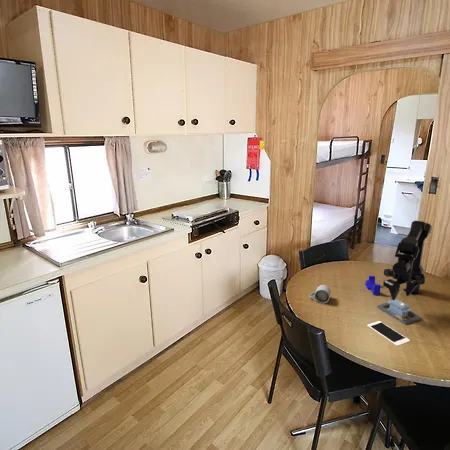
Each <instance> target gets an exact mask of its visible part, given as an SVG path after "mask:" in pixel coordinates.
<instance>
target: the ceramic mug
mask: <svg viewBox="0 0 450 450" xmlns="http://www.w3.org/2000/svg"><path fill="white" fill-rule="evenodd" d="M308 296H309V299H310V300H315V301H316V302H317V303H319V304H326V303H328V302H329V300H330V298H331V289H330V286H328V285H326V284H320V285H319V286H318V287H317V288H316V290H315V291H312V292H311V293H310V294H309V295H308Z"/></svg>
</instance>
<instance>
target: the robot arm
mask: <svg viewBox="0 0 450 450" xmlns="http://www.w3.org/2000/svg"><path fill="white" fill-rule="evenodd" d="M432 226H433V225H432V224H430V223H428V222H425V221H422V220H413V221H411V225H410V228H409V229H410V230H409V232H408V234H407V236H406V237H403V238H402V239H401V240H400V242H399V243H398V244H397V247H396V251H395V255H394V257H395V258H397V260H396V262H394V264H393V266H392V268H384V269H383V276H386V277H387V278H389V279H386V280H384V281H383V283H382V285H383V287H385V288H386V289H388V291H389V293H390V296H391V300H395V299H397V296H398V294H399V292H400V291H401V290H400V288H401V285H405V284H406V286H405V288H403V291H405V296H406V297H409V296H411V295H413V296H415V295H419V294H422V293H423V291H421V290H420V288H421V286H422V285H425V284H426V275H425V273H424V272H425V271H424V270H425V269H424V268H423V265H422V259H423V253H424V247H425V240H426V239H427V238H428V237H429V236H430V234H431V233H432V229H433V227H432ZM393 279H394V280H393Z"/></svg>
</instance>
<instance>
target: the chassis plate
mask: <svg viewBox="0 0 450 450" xmlns="http://www.w3.org/2000/svg"><path fill="white" fill-rule="evenodd" d="M389 307H390V304H389V303H388V301H386V302H385V303H381V304H378V305H377V306H376V308H377V309H378V310H380V311H382V312H383V313H385V314H386V315H389V316H390V317H391V318H393V319H396V320H397V321H399V322H400V323H402V324H404V325H405V326H407V325H408V324H412V323H415V322H418V321H420V320H422V316H420V315H418V314H416V313H414V312H412V311H409V312H408V316H410V317H411V318H410V317H409V318H407V319H405V318H404V317H403V318H402V317H400V316H398V315H396V314H394V313H393V312H391V311H389V309H387V308H389Z"/></svg>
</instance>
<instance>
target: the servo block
mask: <svg viewBox="0 0 450 450" xmlns="http://www.w3.org/2000/svg"><path fill="white" fill-rule="evenodd" d="M387 302H388V303H389V304H390V306H388V308H389V309H388V310H389V311H391V312H393V313H394V314H396V315H398V316H400V317H402V318H403V319H404V318H406V317H408V316H409V314H408V312H409V311H411V312H412V310H413V309H412V308H410V305H408V304H406V303H404V302H403V301H401V300H399V299H397V298H396V299H395V300H392V299H391V300H387Z"/></svg>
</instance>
